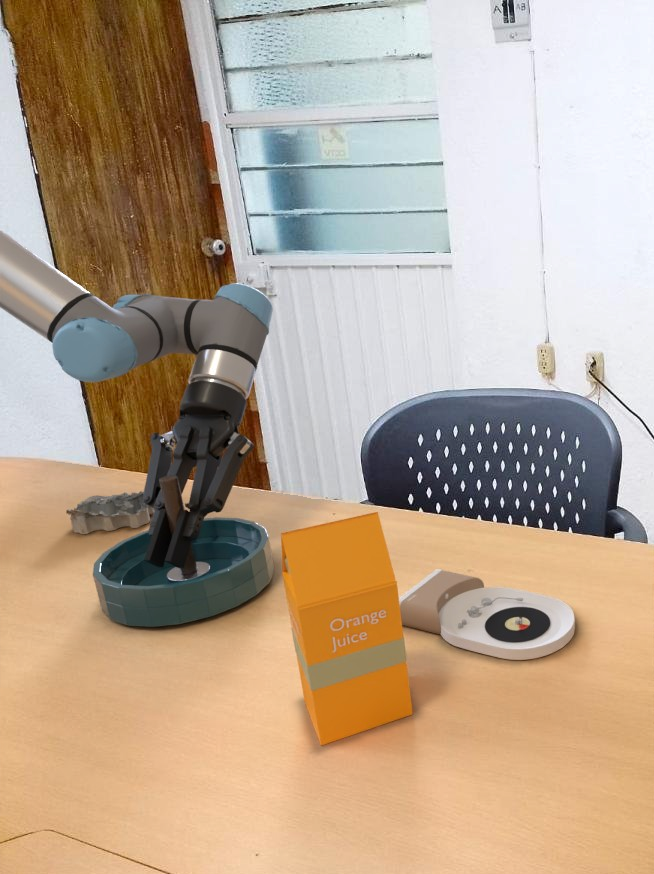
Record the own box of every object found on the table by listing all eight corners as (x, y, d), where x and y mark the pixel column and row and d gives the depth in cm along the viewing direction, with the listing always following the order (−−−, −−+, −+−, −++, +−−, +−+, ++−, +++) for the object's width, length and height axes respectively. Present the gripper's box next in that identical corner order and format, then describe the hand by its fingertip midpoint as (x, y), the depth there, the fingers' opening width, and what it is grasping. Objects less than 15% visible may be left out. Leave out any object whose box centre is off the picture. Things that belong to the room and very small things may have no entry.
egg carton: (67, 537, 120) (60, 511, 119) (85, 516, 127) (79, 492, 126) (147, 528, 123) (141, 502, 121) (160, 508, 130) (155, 484, 128)
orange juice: (413, 714, 80) (391, 526, 73) (320, 746, 76) (287, 550, 69) (390, 673, 86) (367, 497, 80) (303, 701, 82) (271, 518, 76)
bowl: (105, 575, 109) (96, 538, 107) (264, 542, 117) (257, 506, 115) (100, 648, 92) (89, 605, 90) (284, 603, 101) (277, 562, 99)
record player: (444, 562, 103) (591, 593, 95) (446, 584, 104) (591, 617, 96) (386, 607, 93) (544, 646, 85) (388, 631, 94) (545, 671, 86)
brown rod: (168, 577, 105) (144, 475, 101) (210, 568, 108) (190, 467, 103) (169, 594, 101) (145, 489, 96) (213, 584, 103) (192, 480, 99)
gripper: (284, 406, 111) (238, 576, 102) (181, 405, 114) (126, 570, 104) (257, 378, 105) (204, 557, 95) (148, 377, 107) (86, 551, 97)
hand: (164, 563), depth 99 cm, fingers closed on brown rod, 2 cm apart
